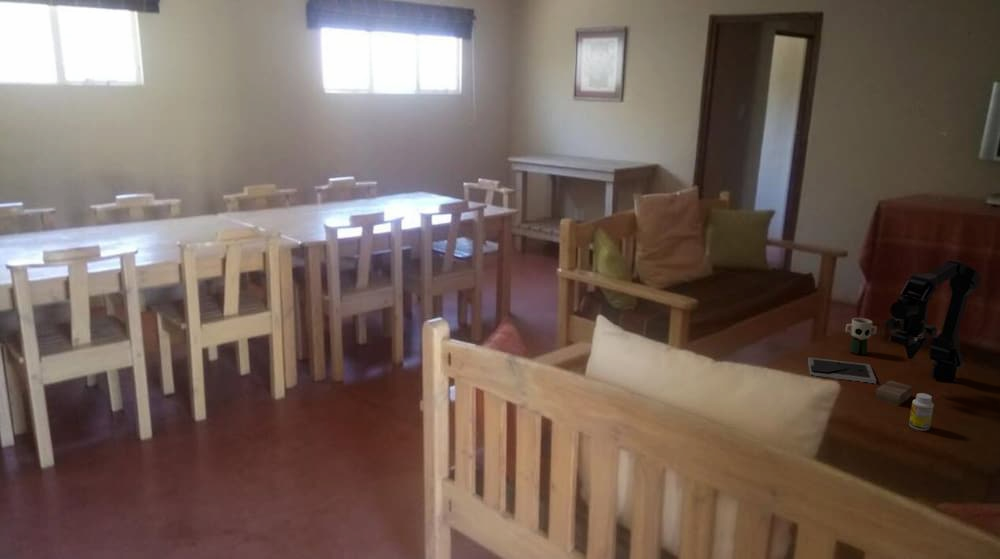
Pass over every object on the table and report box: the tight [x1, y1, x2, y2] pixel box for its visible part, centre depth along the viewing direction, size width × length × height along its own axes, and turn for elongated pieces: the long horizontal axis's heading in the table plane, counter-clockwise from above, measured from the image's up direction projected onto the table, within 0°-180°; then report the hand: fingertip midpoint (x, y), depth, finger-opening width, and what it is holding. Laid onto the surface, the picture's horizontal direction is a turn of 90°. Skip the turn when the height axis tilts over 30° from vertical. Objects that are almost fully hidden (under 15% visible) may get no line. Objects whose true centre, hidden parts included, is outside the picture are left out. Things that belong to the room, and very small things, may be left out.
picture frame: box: [807, 356, 877, 385], centre depth 264 cm, size 16×3×21 cm
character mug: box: [845, 317, 878, 355], centre depth 282 cm, size 11×7×13 cm, turn 79°
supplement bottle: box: [908, 392, 935, 431], centre depth 220 cm, size 6×6×10 cm
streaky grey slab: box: [875, 379, 913, 407], centre depth 242 cm, size 4×7×11 cm
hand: (910, 358), depth 246 cm, fingers closed
